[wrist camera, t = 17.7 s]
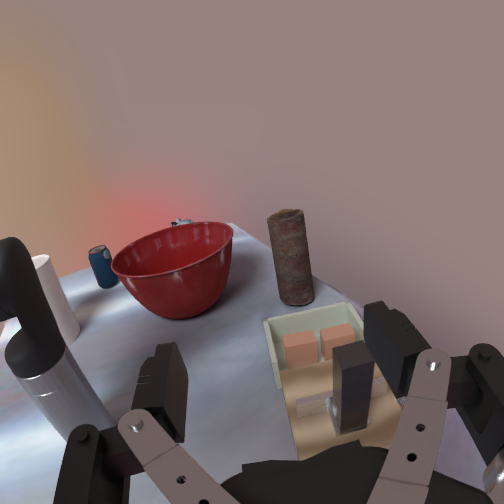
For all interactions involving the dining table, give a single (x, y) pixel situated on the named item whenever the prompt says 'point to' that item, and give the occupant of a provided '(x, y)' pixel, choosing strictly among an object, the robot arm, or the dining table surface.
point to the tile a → (300, 349)
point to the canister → (56, 299)
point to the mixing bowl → (177, 268)
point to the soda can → (102, 267)
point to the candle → (291, 256)
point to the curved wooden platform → (319, 426)
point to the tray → (305, 322)
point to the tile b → (335, 338)
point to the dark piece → (347, 390)
